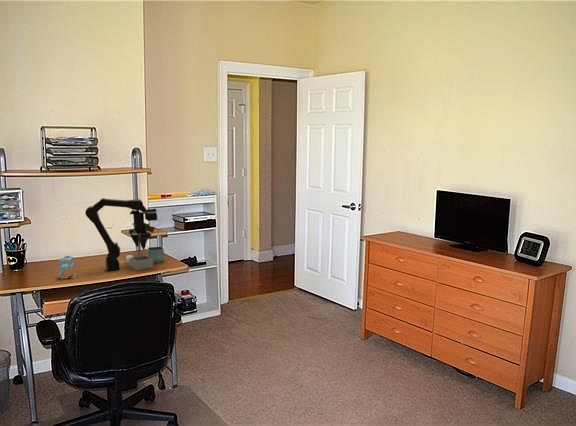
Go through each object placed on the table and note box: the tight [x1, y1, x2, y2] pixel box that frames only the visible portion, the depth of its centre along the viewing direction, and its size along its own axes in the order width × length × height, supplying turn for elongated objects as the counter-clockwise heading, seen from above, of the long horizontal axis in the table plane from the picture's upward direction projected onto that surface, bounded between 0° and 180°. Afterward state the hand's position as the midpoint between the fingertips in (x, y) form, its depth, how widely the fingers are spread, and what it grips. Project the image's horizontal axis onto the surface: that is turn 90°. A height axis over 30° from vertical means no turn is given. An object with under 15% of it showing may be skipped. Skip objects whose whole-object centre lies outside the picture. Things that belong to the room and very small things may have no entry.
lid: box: [121, 254, 134, 264], centre depth 311 cm, size 11×11×5 cm
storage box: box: [129, 254, 154, 271], centre depth 299 cm, size 10×10×6 cm
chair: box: [58, 255, 77, 278], centre depth 281 cm, size 8×8×12 cm
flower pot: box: [147, 245, 165, 264], centre depth 311 cm, size 9×9×9 cm
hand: (140, 248), depth 298 cm, fingers open, 9 cm apart
